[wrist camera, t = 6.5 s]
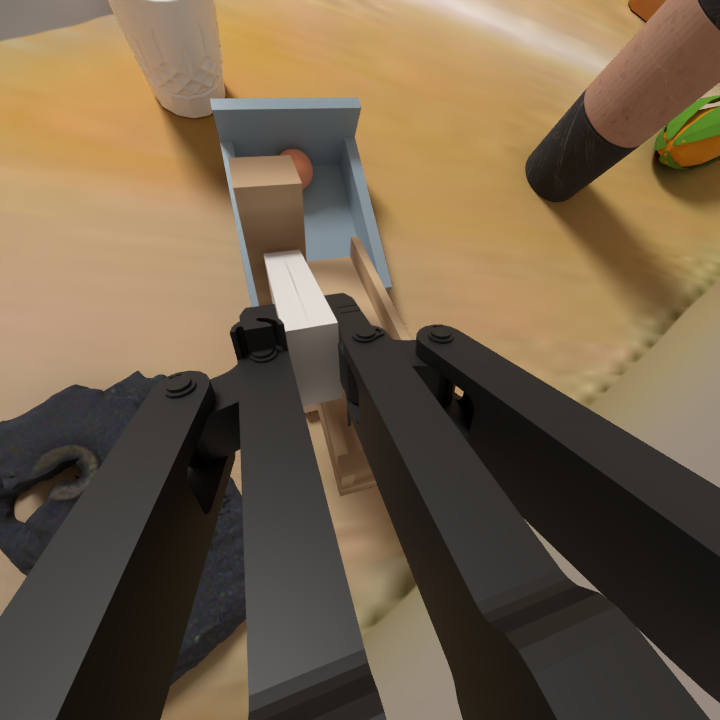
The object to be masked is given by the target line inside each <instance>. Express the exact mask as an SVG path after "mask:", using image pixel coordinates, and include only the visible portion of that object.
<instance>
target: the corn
mask: <svg viewBox="0 0 720 720" xmlns="http://www.w3.org/2000/svg"><path fill="white" fill-rule="evenodd" d="M718 101H720V96H712V97H707V98H701V99H699V100H697V101H696V102H694V103H693V104H692V105H690V106H689V107H688V108H687V109H685V110H684V111H683V112H682V113H680V114H679V115H678V116H677V117H675V118H674V119H673V120H672V121H670V122H669V123H668V124H667V125H666V126H665V127H664V128H663V130H662V131H661V132H660V133H659V135H658V137H657V138H656V142H655V147H654V150H657V151H658V153H659V154H660V156H661V157H660V158H659V161H660V163H662V164H665V165H667V166H670V167H672V168H674V169H693V168H697V167H701V166H705V165H709V164H711V163H713V162H715V161H717V160H719V159H720V106H717V107H712V108H707V109H702V110H699V109H700V108H701V107H703V106H704V105H706V104H709V103H715V102H718Z"/></svg>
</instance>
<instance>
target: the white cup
mask: <svg viewBox="0 0 720 720" xmlns="http://www.w3.org/2000/svg"><path fill="white" fill-rule="evenodd" d="M108 2H109V4H110V7H111V9H112V11H113V13H114V15H115V17H116V19H117V21H118V24H119V26H120V28H121V30H122V32H123V34H124V36H125V38H126V40H127V42H128V44H129V46H130V48H131V50H132V52H133V54H134V56H135V59H136V61H137V63H138V65H139V66H140V68H141V70H142V72H143V73H144V75H145V77H146V79H147V82H148V84H149V86H150V88H151V90H152V92H153V94H154V96H155V97H156V98H157V100H158V101H159V102H160V104H161V105H162V106H163V107H164V108H166V109H167V110H169V111H171V112H173V113H174V114H176V115H178V116H184V117H189V118H199V117H204V116H209V115H211V114H212V113H213V112H212V107H211V102H210V99H223V98H225V95H226V94H225V87H224V81H223V72H222V56H221V45H220V40H219V29H218V22H217V15H216V9H215V1H214V0H108Z"/></svg>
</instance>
